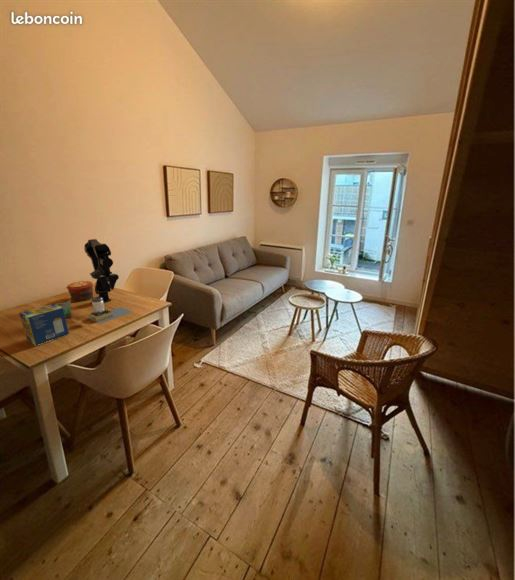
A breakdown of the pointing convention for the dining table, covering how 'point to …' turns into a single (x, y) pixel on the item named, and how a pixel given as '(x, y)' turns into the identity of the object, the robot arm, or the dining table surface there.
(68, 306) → the food container
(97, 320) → the tan square tray
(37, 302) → the dining table surface
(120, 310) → the board
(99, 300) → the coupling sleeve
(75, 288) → the food container
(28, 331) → the protein box
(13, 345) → the dining table surface
